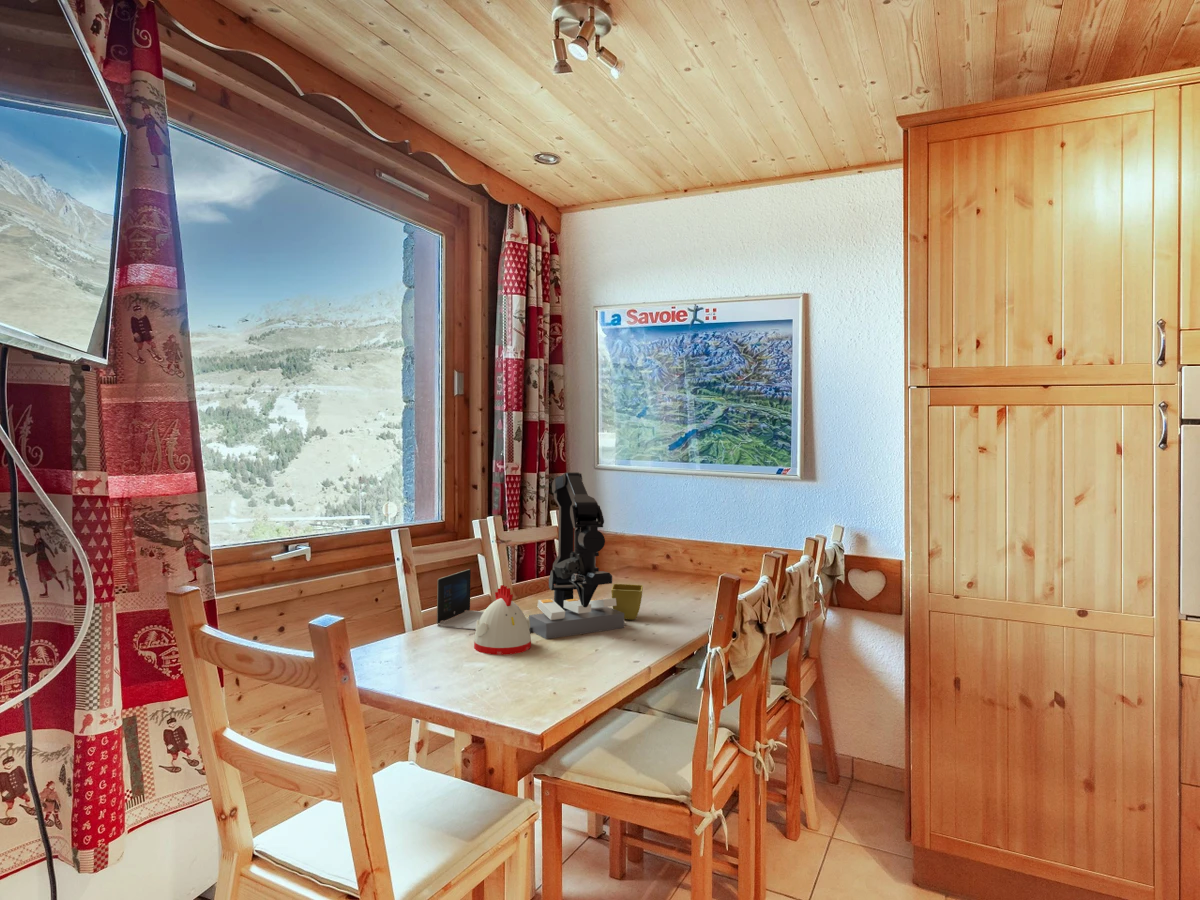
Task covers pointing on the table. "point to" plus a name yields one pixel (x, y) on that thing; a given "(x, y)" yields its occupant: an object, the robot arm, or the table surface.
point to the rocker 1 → (551, 609)
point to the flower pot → (627, 599)
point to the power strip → (577, 622)
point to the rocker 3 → (603, 602)
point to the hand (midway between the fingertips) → (584, 607)
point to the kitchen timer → (502, 627)
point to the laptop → (456, 602)
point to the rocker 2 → (576, 606)
